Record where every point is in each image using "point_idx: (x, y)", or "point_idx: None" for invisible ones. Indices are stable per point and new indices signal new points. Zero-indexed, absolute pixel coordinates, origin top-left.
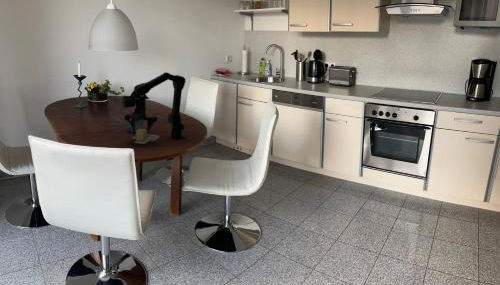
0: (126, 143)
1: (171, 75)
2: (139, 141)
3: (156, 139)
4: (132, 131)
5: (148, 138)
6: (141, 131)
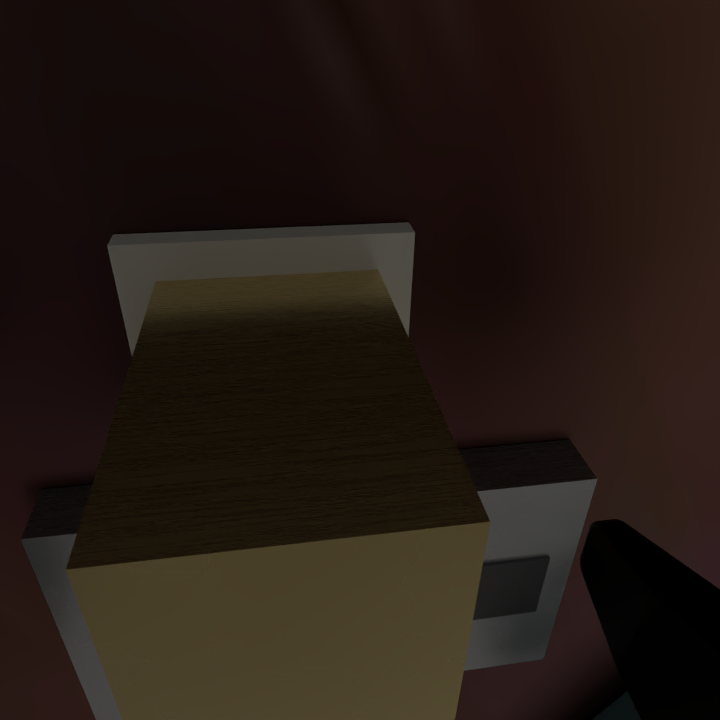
0: (603, 60)
1: None
2: (284, 279)
3: None
4: None
5: None
6: (176, 534)
